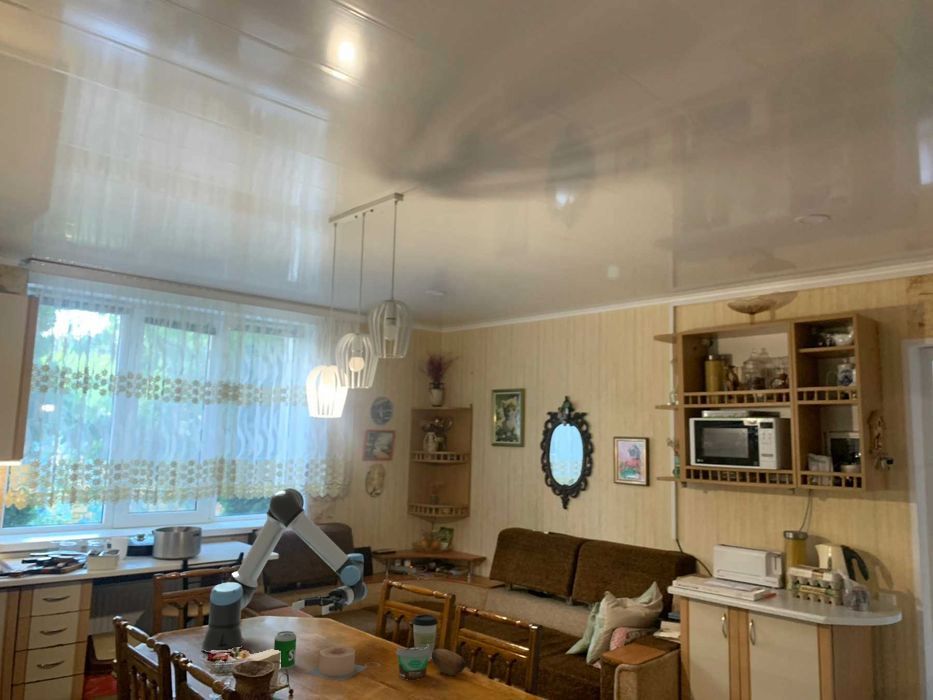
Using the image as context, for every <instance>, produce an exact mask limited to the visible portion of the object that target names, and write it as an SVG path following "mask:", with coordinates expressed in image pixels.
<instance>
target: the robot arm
mask: <svg viewBox="0 0 933 700" xmlns="http://www.w3.org/2000/svg"><path fill="white" fill-rule="evenodd" d="M304 502H305V499H304V495H302V493H301V492H300V491H299V490H297V489H294V488H290V487H289V488H284V489H282V490H279V491H277V492H275V493H274V494H273V496H272V497H271V498H270V502H269V508H268V510H267V512H266V517H267V519H266V521H265V522H264V524H263V527H262V528H261V530H259V533H258V534H257V536H256V538H255V540H254V542H253V543H252V545H251V547H250V549H249V551H248V552H247V554H246V556H245V558H244V559H243V561H242V563H241V565H240V567H239V568H238V570H236V571H234V572H232V573H231V575H230V577H229V578H228V580H227V581H226V582H222V583H220V584H219V583H218V584H217V585H215V586H213V587H212V589H211V592H210V595H209V597H210V598H209V599H210V603H209V613H208V628H207V631H206V633H205V636H204V638H203V639H204V640H203V641H202V644H201V650H202V649H204V650H206V651H211V650H228V649H232V648H234V647H241V646H243V647H244V638H243V635H242V630H241V616H242V615H241V614H242V610H243V609H245V608H246V607H247V606H248V605H249V604H250V602H251V601H252V599H253V596H254V593H255V591H256V590H257V587H258V586H259V584H258V581H257V580H258V578H259V576H260V575H261V573H262V571H263V569H264V568H265V566H266V564H267V562H268V560H269V559H270V557H271V555H272V553H273V551H274V550H275V547H277V545H278V542H279V541H280V539H281V537H282V536H283V534H284V532H285V530H286V529H290V530H292V531H293V532H294V533H295V534H296V535H297V536H298V537H299V538H300V539H301V540H302V541H303V542H304V543H306V545H308V546H309V548H310V549H312V551H313V552H314V553H316V555H318V557H320V558H321V559H322V560H323V562H324V563H326V564H327V565H328V566H329V567H330V568H331V569H332V571H334V572H335V574H336V575H338V576H339V577H340V580H341V581H342V583H343V584H344V586H341V587H338V588H334V589H332V590H331V591H329V593H327V594H326V595H320V594H318V595H316V596H309V597H301V598H298V601H296V602H293V603H292V604H291V611H292V612H295V611H298V610H300V609H304V608H305V607H311V606H319V607H321V615H322V616H324V615H327V614H329V613H332V612H337V611H339V612H342V611H343V610H344V608H346V607H347V606H348V605H352V604H355V603H359V602H360V601H363V599H365V598H366V596H367V594H368V588H367V585H366V583H365V582H364V563H365V561H364V560H365V559H364V555H363V554H362V553H349V554H346V553H345V552H344V551H343V550H342V549H341V548H340V547H339V546H338V545H337V544H336V543H335V542H334V541H333V540H332V539H331V538H330V537H329V536H328V535H327V534H326V533H325V532H324V531H323V530H322V529H321V528H319V527H318V526H317V524H316V523H315V522H313V521H312V519H310V518H309V517H308V515H307V514H306V510H305V509H304V504H305V503H304Z"/></svg>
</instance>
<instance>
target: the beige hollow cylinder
mask: <svg viewBox="0 0 933 700" xmlns="http://www.w3.org/2000/svg"><path fill="white" fill-rule="evenodd" d="M355 656H356V650H355V649H353V648H352V647H348V646H347V647H346V646H331V647H327V648H324V649H321V650H320V652H319V658H318V659H319V663H318V666H319V672H320V673H321V674H323V675H328V676H342V675H347V674H350V673H352V672H353V671H354V664H356V663H355V660H356V659H355V658H356V657H355Z"/></svg>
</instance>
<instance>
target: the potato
mask: <svg viewBox="0 0 933 700" xmlns="http://www.w3.org/2000/svg"><path fill="white" fill-rule="evenodd" d="M431 661H432V662H433V664H434V666H435V667H436V668H437V669H438V670H439V671H441V672H442V674H445V675H449V674H451V675H450V676H453V675H454V674H455V675H458V674H460V673H462V672H463V671H464V670H465V668H466V660H465V659H464V658H463V657H462V656H460V655H459V654H457V653H456V652H453V651H451V650H448V649H444V648H441V647H439V648H434V650H433V652H432V660H431Z"/></svg>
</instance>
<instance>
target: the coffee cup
mask: <svg viewBox="0 0 933 700" xmlns="http://www.w3.org/2000/svg"><path fill="white" fill-rule="evenodd" d="M411 623H412V624H413V631H412V632H413V640H414V641H413V643H414V646H413V647H425V646H427V644H429V647H430V653H429V654H428V660H427V662H430V661H429V660H430V659H432V658H431V657H432V652H433V651H434V650H435V643H436V638H437V637H436V635H437V627H438V626H437V625H438V624H439V621H438V620H437V616H436V615H433V614H417V615H414V617H413V619H412V622H411Z"/></svg>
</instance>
